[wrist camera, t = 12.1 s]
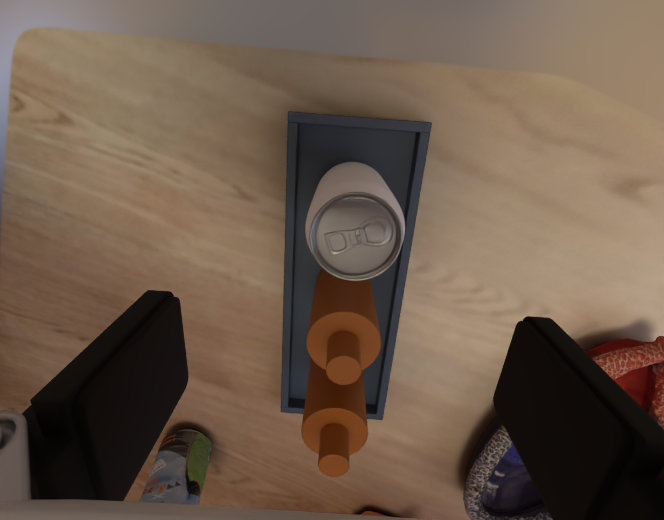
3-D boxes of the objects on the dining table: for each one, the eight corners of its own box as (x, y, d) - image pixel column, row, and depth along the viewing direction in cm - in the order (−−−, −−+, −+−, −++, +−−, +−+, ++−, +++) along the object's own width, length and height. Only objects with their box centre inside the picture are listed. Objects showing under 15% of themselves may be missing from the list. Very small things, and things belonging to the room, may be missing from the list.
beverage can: (180, 413, 43) (125, 515, 32) (232, 441, 45) (195, 548, 34) (157, 442, 45) (97, 548, 34) (207, 468, 47) (165, 577, 36)
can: (393, 221, 33) (419, 273, 22) (327, 238, 34) (319, 297, 23) (377, 151, 31) (397, 170, 20) (307, 172, 32) (287, 201, 20)
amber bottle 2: (312, 335, 38) (298, 436, 26) (364, 339, 38) (374, 442, 26) (309, 377, 40) (295, 488, 28) (359, 381, 40) (366, 494, 28)
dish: (420, 473, 46) (429, 513, 41) (596, 292, 36) (634, 317, 31) (514, 515, 49) (532, 557, 44) (703, 356, 38) (753, 389, 34)
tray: (291, 112, 30) (287, 111, 28) (426, 122, 30) (431, 122, 28) (283, 398, 42) (280, 412, 40) (380, 406, 42) (382, 420, 40)
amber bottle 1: (317, 257, 35) (303, 332, 23) (374, 262, 35) (391, 338, 23) (314, 307, 37) (300, 400, 25) (368, 311, 37) (380, 406, 25)
